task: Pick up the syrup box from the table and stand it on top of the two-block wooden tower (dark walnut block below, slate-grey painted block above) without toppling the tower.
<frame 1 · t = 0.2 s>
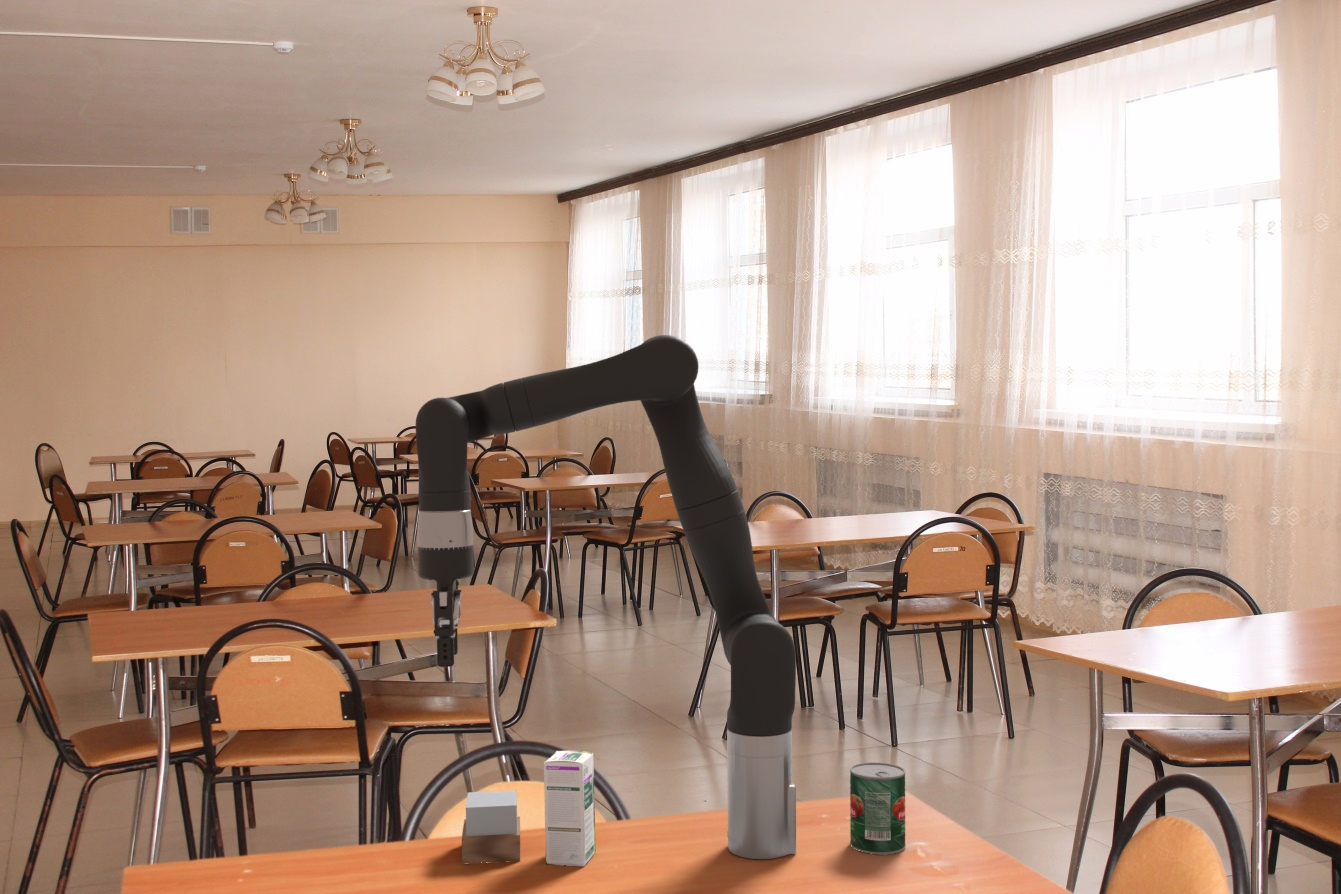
hand: (447, 660, 164), 28 cm above the table, tool pointing down, fingers open, 8 cm apart
syrup box: (570, 860, 167), on the table
canned tomato: (877, 847, 171), on the table
tower base: (491, 854, 169), on the table, touching tower top
tower top: (492, 826, 169), point 4 cm above the table, touching tower base
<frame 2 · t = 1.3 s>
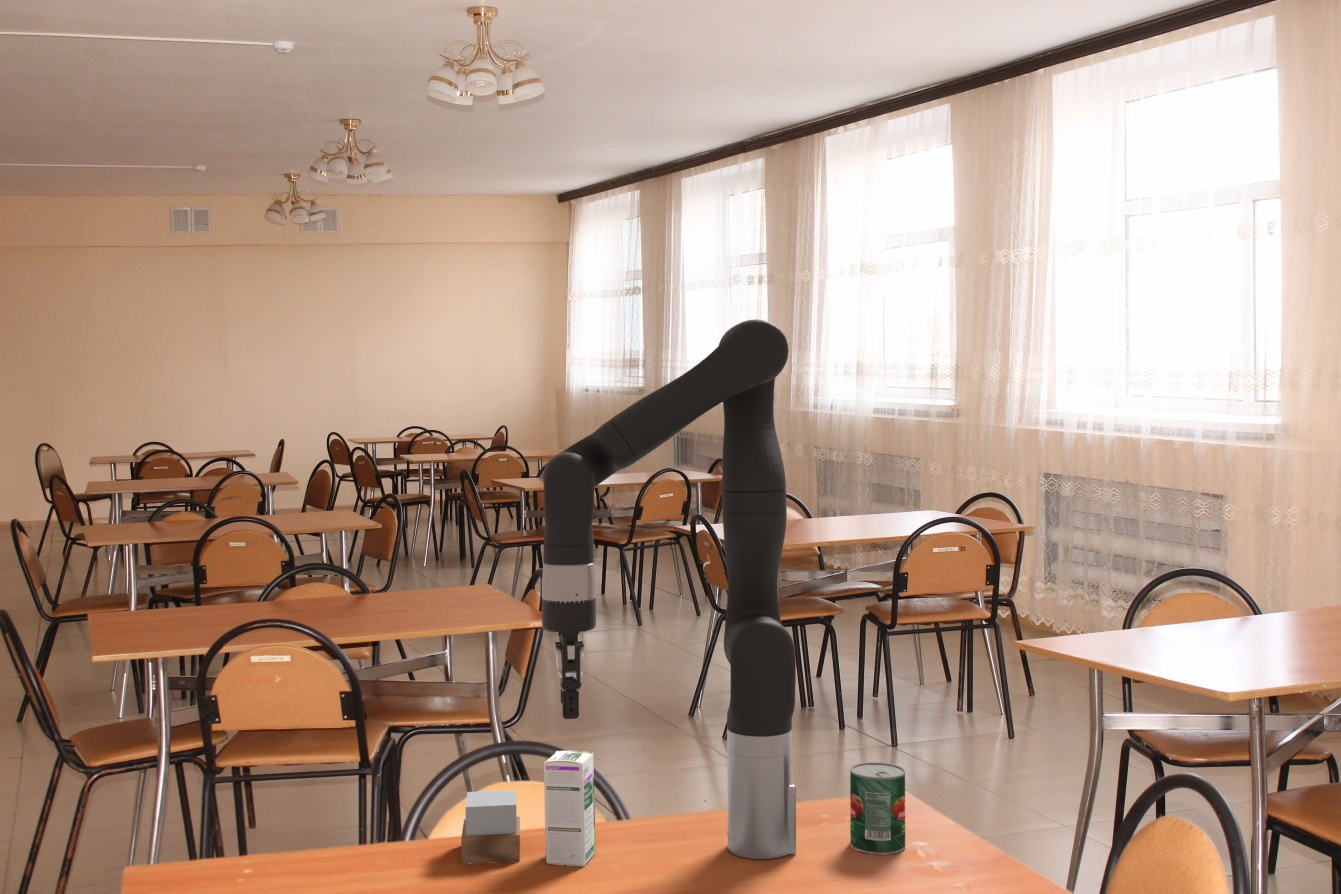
hand: (569, 711, 166), 21 cm above the table, tool pointing down, fingers open, 8 cm apart
tower base: (491, 854, 169), on the table
tower top: (491, 826, 169), point 4 cm above the table
everything else where it was.
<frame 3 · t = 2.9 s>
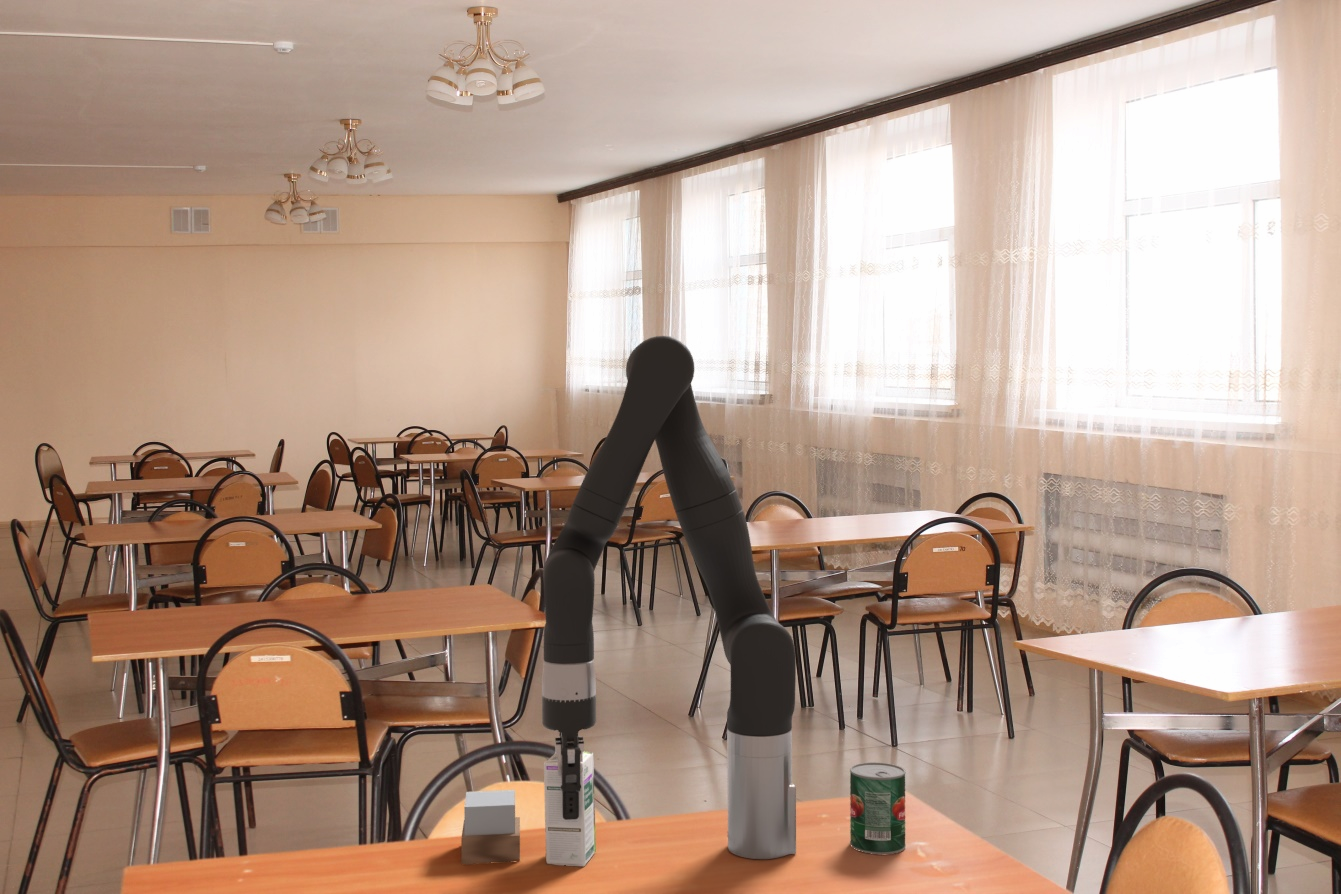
hand: (569, 810, 167), 7 cm above the table, tool pointing down, fingers closed on syrup box, 6 cm apart
syrup box: (570, 860, 167), on the table, touching gripper
tower base: (491, 855, 169), on the table, touching tower top
tower top: (490, 826, 170), point 4 cm above the table, touching tower base
everything else where it was.
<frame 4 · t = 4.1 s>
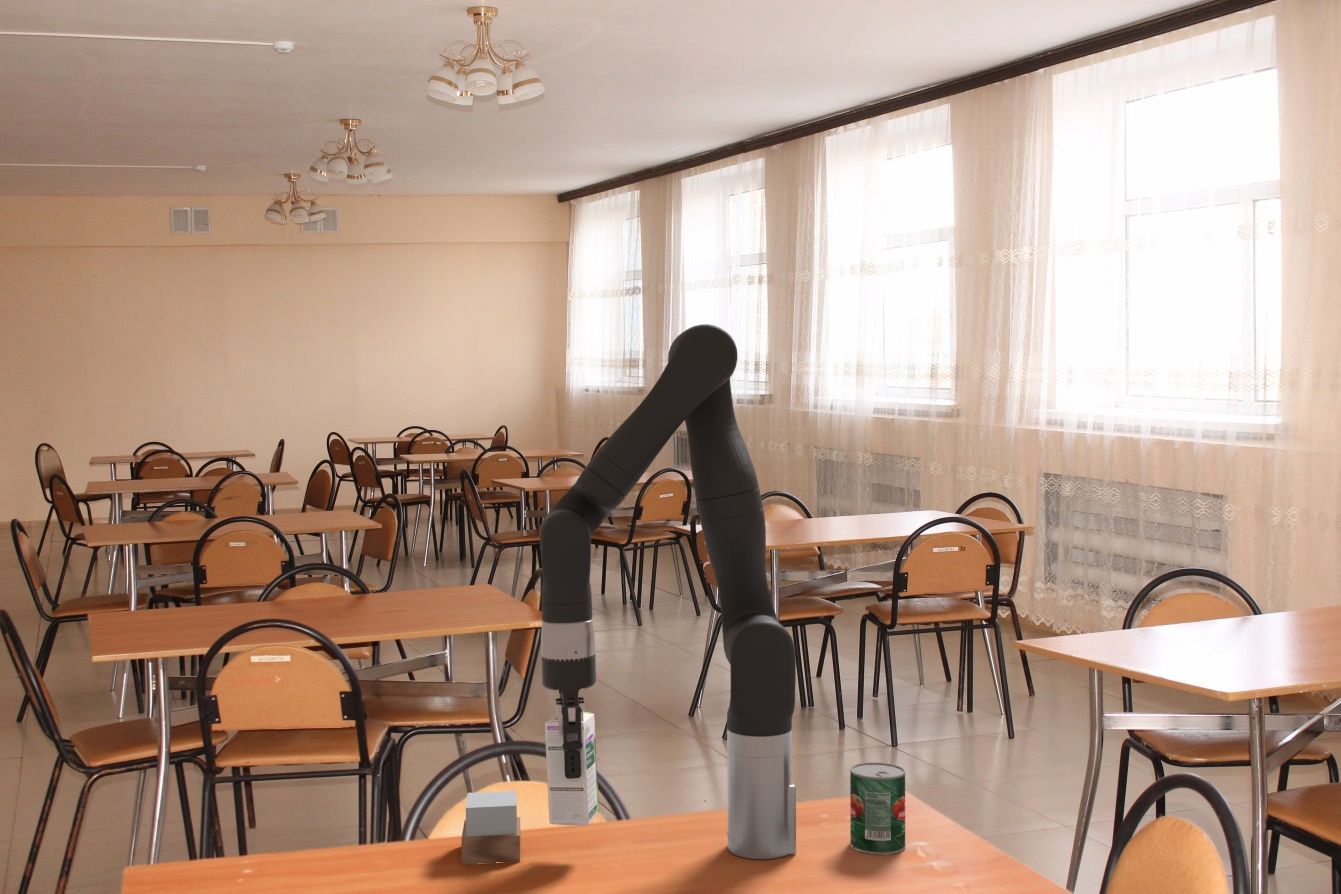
hand: (571, 770, 167), 12 cm above the table, tool pointing down, fingers closed on syrup box, 6 cm apart
syrup box: (573, 820, 167), point 5 cm above the table, touching gripper
everything else where it was.
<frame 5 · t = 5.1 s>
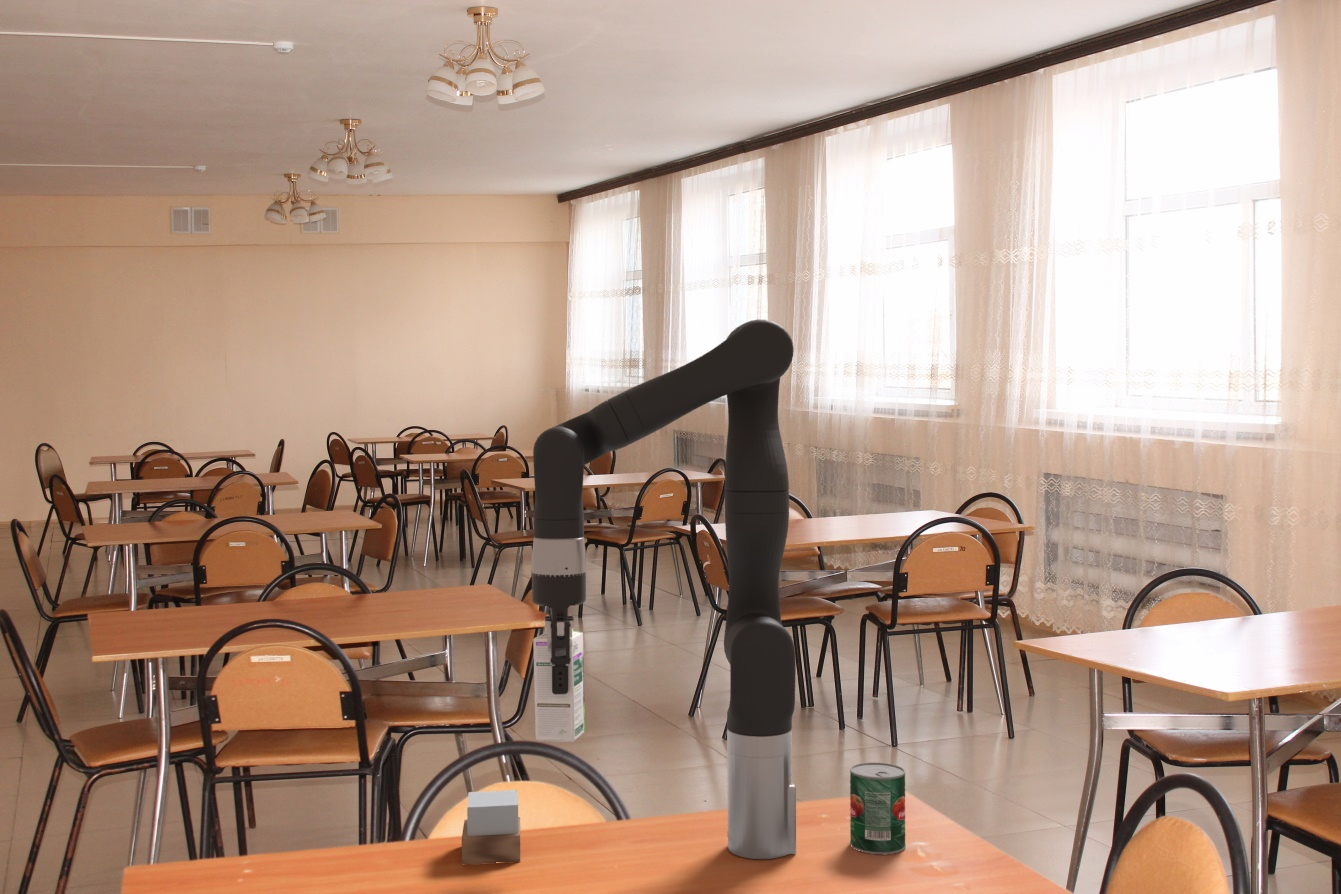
hand: (559, 687, 167), 24 cm above the table, tool pointing down, fingers closed on syrup box, 6 cm apart
syrup box: (559, 738, 167), point 17 cm above the table, touching gripper
everything else where it was.
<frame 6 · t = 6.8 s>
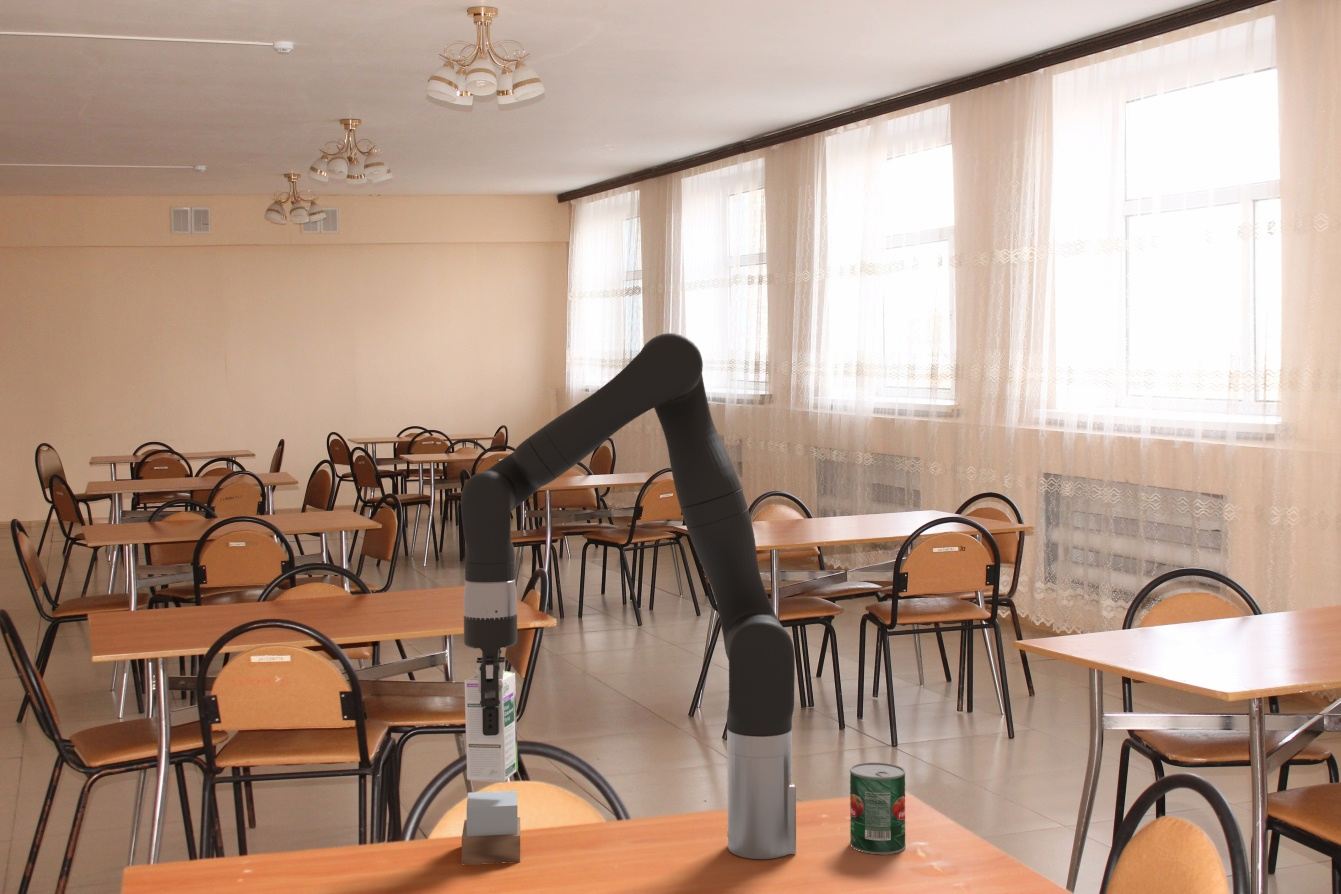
hand: (491, 728, 169), 18 cm above the table, tool pointing down, fingers closed on syrup box, 6 cm apart
syrup box: (492, 777, 169), point 11 cm above the table, touching gripper
everything else where it was.
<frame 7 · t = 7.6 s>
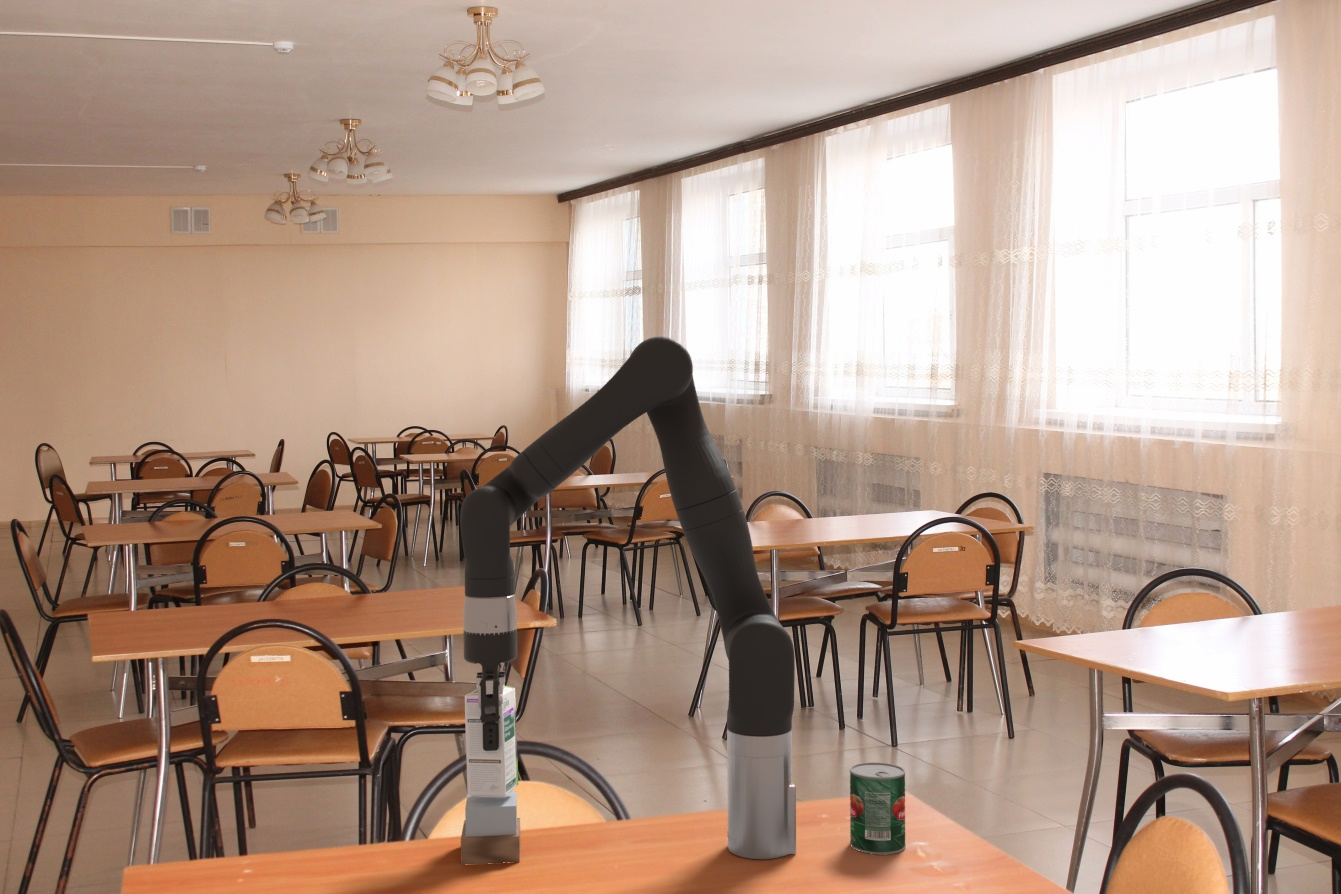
hand: (491, 743, 169), 16 cm above the table, tool pointing down, fingers closed on syrup box, 6 cm apart
syrup box: (492, 792, 169), point 9 cm above the table, touching gripper
everything else where it was.
when the fingers open (16 cm above the table, at t = 7.8 s): syrup box moves 1 cm, point 8 cm above the table.
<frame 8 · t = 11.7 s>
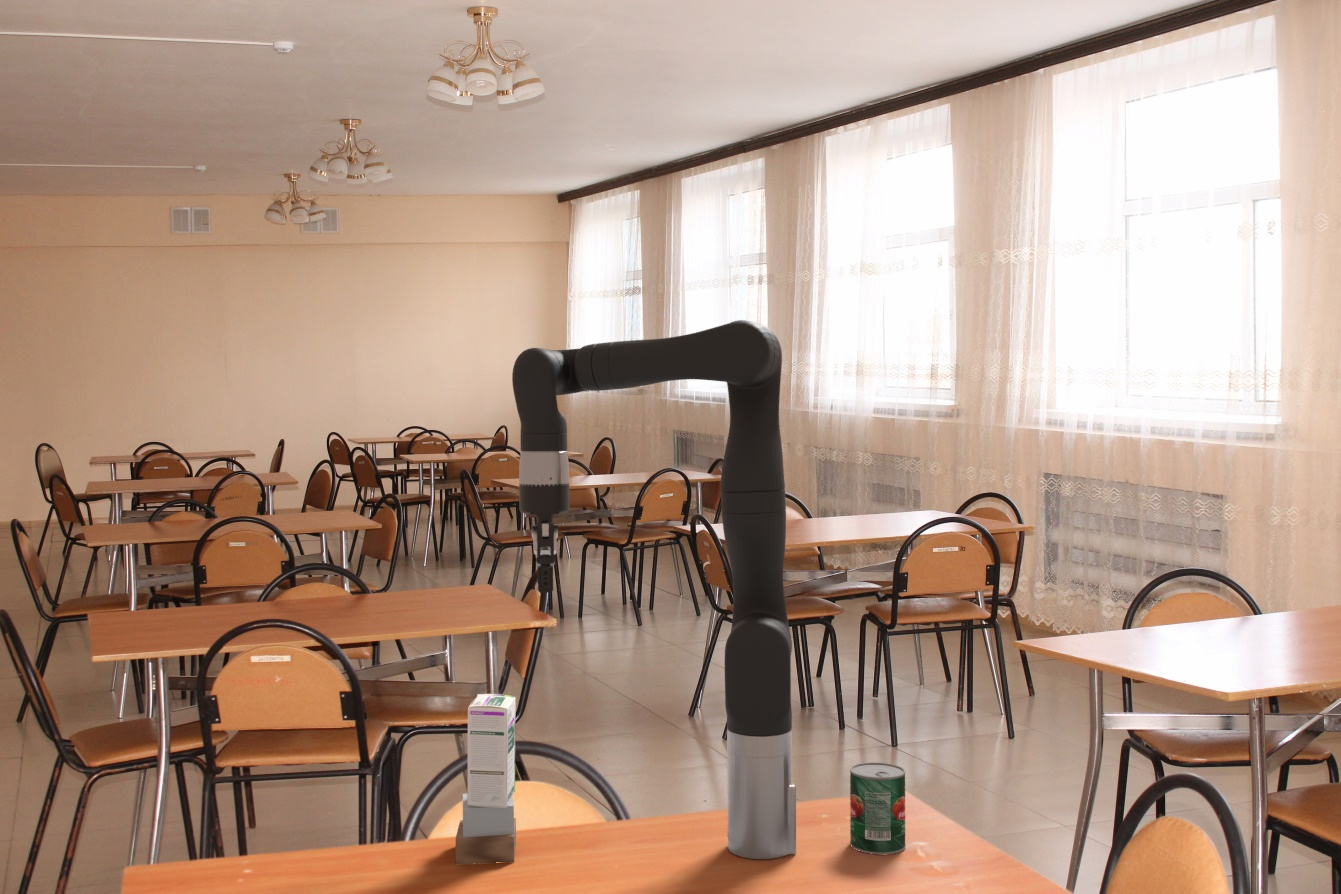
hand: (545, 588, 180), 36 cm above the table, tool pointing down, fingers open, 8 cm apart
syrup box: (490, 800, 168), point 8 cm above the table
everything else where it was.
at the end: syrup box 1.0 cm off-centre on the tower top, point 3.8 cm above the tower top's base; syrup box tilted 1°; tower top tilted 0° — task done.
